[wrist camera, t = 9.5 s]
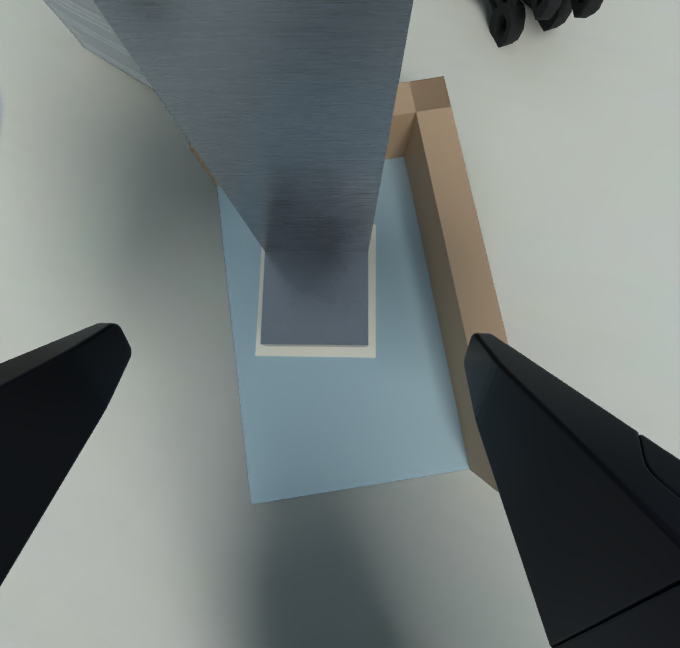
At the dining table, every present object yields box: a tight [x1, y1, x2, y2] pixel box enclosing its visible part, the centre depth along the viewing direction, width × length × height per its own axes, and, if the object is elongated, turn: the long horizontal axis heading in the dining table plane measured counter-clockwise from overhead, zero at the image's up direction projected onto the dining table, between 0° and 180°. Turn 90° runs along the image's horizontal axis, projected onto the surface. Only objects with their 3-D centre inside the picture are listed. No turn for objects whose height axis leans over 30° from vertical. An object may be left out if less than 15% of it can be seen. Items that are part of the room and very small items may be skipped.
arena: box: [189, 76, 508, 504], centre depth 15 cm, size 18×12×4 cm, turn 9°
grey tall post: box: [93, 0, 413, 347], centre depth 10 cm, size 6×5×13 cm
